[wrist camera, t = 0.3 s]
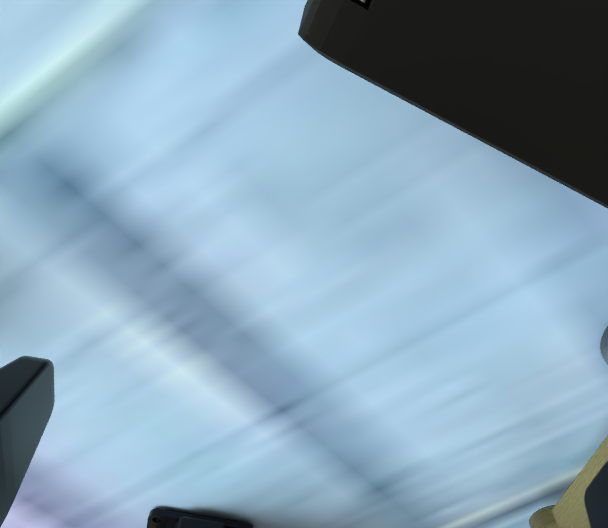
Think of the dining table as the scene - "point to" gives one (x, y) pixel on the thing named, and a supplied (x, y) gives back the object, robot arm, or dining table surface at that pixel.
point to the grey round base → (604, 345)
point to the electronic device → (487, 72)
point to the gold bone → (572, 498)
